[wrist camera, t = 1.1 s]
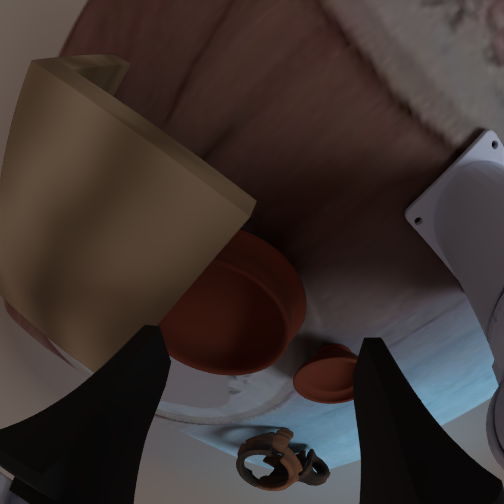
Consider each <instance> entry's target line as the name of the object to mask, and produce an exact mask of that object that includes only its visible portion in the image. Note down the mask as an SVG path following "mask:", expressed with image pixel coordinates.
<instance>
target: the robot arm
mask: <svg viewBox="0 0 504 504" xmlns="http://www.w3.org/2000/svg"><path fill="white" fill-rule="evenodd" d="M493 141H495V145H494V147H492V142H493ZM418 217H420V218H421V219H420V221H419V222H415V219H416V218H418ZM405 218H406V219H407V221H408V222H409V223H410V224H411V225H412V226H413V228H414V229H415V230H416V231H417V232H418V233H419V234H420V235H421V236H422V238H423V239H424V240H425V241H426V242H427V243H428V244H429V246H430V247H431V248H432V249H433V250H434V251H435V253H436V254H437V255H438V256H439V257H440V259H441V260H442V261H443V262H444V263H445V265H446V266H447V267H448V268H449V270H450V271H451V272H452V273H453V275H454V276H455V277H456V278H457V280H458V281H459V282H460V284H461V286H462V288H463V290H464V292H465V294H466V296H467V298H468V300H469V302H470V304H471V306H472V308H473V310H474V312H475V314H476V316H477V318H478V320H479V323H480V325H481V327H482V329H483V332H484V334H485V336H486V338H487V341H488V343H489V345H490V349H491V351H492V354H493V356H494V363H493V365H492V368H493V371H494V374H495V376H496V379H497V382H498V385H499V387H498V388H497V390H496V391H495V393H494V395H493V397H492V399H491V402H490V404H489V408H488V413H487V420H486V432H487V438H488V443H489V446H490V449H491V452H492V454H493V455H494V457H495V459H496V461H497V462H498V464H499V465H500V466H501V467H502V468H503V469H504V146H503V145H502V143H501V141H500V140H499V138H498V137H497V135H496V134H495V132H494V131H492V130H490V129H486V130H484V131H483V132H482V133H481V134H480V135H479V136H478V138H477V139H476V140H475V141H474V142H473V143H472V144H471V145H470V146H469V147H468V148H467V149H466V150H465V151H464V152H463V153H462V154H461V155H460V156H459V157H458V159H457V160H456V161H455V162H454V163H453V164H452V165H451V166H450V167H449V168H448V169H447V170H446V171H445V172H444V173H443V174H442V175H441V176H440V177H439V178H438V179H437V180H436V181H435V182H434V183H433V184H432V185H431V186H430V187H429V188H428V189H427V190H425V191H424V192H423V193H422V194H421V195H420V196H419V197H418V198H417V199H416V200H415V201H414V202H413V203H412V204H411V205H410V206H409V207H408V208H407V209H406V210H405ZM170 365H171V360H170V357H169V354H168V351H167V348H166V345H165V341H164V338H163V335H162V332H161V329H160V326H154V325H146V324H145V325H144V326H143V327H142V328H141V329H140V330H139V331H138V332H137V333H136V334H135V335H134V336H133V337H132V338H131V339H130V340H129V341H128V342H127V343H126V344H125V345H124V346H123V347H122V348H121V349H120V350H119V351H118V352H117V353H115V354H114V355H113V356H112V357H111V358H110V359H109V360H108V361H107V362H106V363H105V364H104V365H103V366H102V367H101V368H100V369H99V370H97V371H96V372H95V373H94V374H93V375H92V376H91V377H90V378H88V379H87V380H86V381H85V382H84V383H82V384H81V385H80V386H79V387H78V388H76V389H75V390H74V391H72V392H71V393H69V394H68V395H67V396H65V397H64V398H62V399H61V400H59V401H58V402H56V403H54V404H53V405H51V406H49V407H48V408H46V409H45V410H43V411H41V412H39V413H37V414H35V415H34V416H31V417H29V418H27V419H25V420H23V421H21V422H19V423H16V424H13V425H11V426H8V427H6V428H3V429H0V466H1V467H2V468H3V469H5V470H6V471H8V472H9V473H11V474H12V475H14V476H15V477H14V479H13V480H11V479H10V478H8V477H7V476H5V475H4V474H3V473H1V472H0V504H134V494H135V488H136V481H137V476H138V470H139V464H140V460H141V456H142V451H143V447H144V443H145V440H146V436H147V433H148V430H149V428H150V425H151V422H152V420H153V417H154V415H155V412H156V409H157V407H158V404H159V402H160V399H161V396H162V394H163V391H164V388H165V385H166V381H167V377H168V374H169V369H170ZM353 398H354V406H355V413H356V420H357V427H358V435H359V443H360V452H361V487H360V488H361V489H360V503H359V504H504V488H503V484H502V481H501V480H500V479H498V478H497V477H496V476H494V475H493V474H491V473H490V472H489V471H487V470H486V469H484V468H483V467H482V466H481V465H479V464H478V463H477V462H476V461H475V460H474V459H472V458H471V457H470V456H469V455H468V454H467V453H466V452H465V451H464V450H463V449H461V447H460V446H459V445H458V444H457V443H456V442H454V440H453V439H452V438H451V437H450V436H449V435H448V434H447V433H446V432H445V431H444V430H443V428H442V427H441V426H440V425H439V424H438V422H437V421H436V420H435V419H434V418H433V416H432V415H431V414H430V412H429V411H428V410H427V409H426V407H425V406H424V404H423V403H422V402H421V400H420V399H419V397H418V396H417V395H416V393H415V392H414V390H413V389H412V387H411V386H410V384H409V382H408V381H407V379H406V378H405V376H404V375H403V373H402V372H401V370H400V368H399V367H398V365H397V363H396V362H395V360H394V358H393V357H392V355H391V353H390V352H389V350H388V348H387V346H386V345H385V343H384V341H383V340H382V339H381V338H364V340H363V343H362V346H361V350H360V353H359V356H358V359H357V362H356V365H355V368H354V371H353Z"/></svg>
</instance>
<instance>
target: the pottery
mask: <svg viewBox="0 0 504 504" xmlns="http://www.w3.org/2000/svg"><path fill="white" fill-rule="evenodd" d="M305 313H306V296H305V291H304V287H303V284H302V282H301V280H300V278H299V276H298V274H297V272H296V271H295V269H294V268H293V266H292V265H291V264H290V262H289V261H288V260H287V259H286V258H285V257H284V256H283V255H282V254H281V253H280V252H279V251H278V250H277V249H275V248H274V247H273V246H272V245H270V244H269V243H267V242H266V241H264V240H263V239H261V238H259V237H257V236H255V235H253V234H251V233H249V232H247V231H244V230H241V229H239V230H238V231H237V233H236V234H235V235H234V236H233V237H232V238H231V239H230V241H229V242H228V243H227V244H226V245H225V246H224V247H223V249H222V250H221V251H220V252H219V253H218V254H217V256H216V257H215V258H214V259H213V260H212V261H211V263H210V264H209V265H208V266H207V267H206V268H205V270H204V271H203V272H202V273H201V274H200V275H199V277H198V278H197V279H196V280H195V281H194V282H193V284H192V285H191V286H190V287H189V288H188V289H187V291H186V292H185V293H184V294H183V295H182V297H181V298H180V299H179V300H178V301H177V302H176V304H175V305H174V306H173V307H172V308H171V310H170V311H169V312H168V313H167V314H166V316H165V317H164V318H163V319H162V320H161V322H160V323H159V324H158V325H157V326H160V329H161V332H162V335H163V338H164V341H165V345H166V348H167V351H168V354H169V355H170V356H171V357H173V358H174V359H176V360H178V361H179V362H181V363H183V364H185V365H188V366H190V367H192V368H195V369H198V370H201V371H204V372H208V373H213V374H219V375H245V374H251V373H255V372H258V371H261V370H263V369H265V368H267V367H269V366H271V365H272V364H274V363H275V362H276V361H278V360H279V359H280V358H281V357H282V355H283V354H284V353H285V351H286V349H287V347H288V345H289V342H290V341H291V340H292V339H293V338H294V337H295V335H296V334H297V333H298V331H299V330H300V328H301V326H302V324H303V321H304V318H305ZM357 359H358V356H357V355H355V354H354V353H352V352H351V351H350V349H349V348H348V347H346V346H344V345H340V344H331V345H327V346H324V347H322V348H321V349H320V350H319V351H318V352H317V354H316V355H315V356H313V357H312V358H310V359H309V360H308V361H307V362H305V363H304V364H303V365H302V366H301V367H300V368H299V369H298V371H297V372H296V374H295V376H294V379H293V385H294V388H295V390H296V391H297V392H298V393H299V394H300V395H301V396H303V397H304V398H306V399H309V400H311V401H314V402H319V403H327V404H335V403H343V402H348V401H351V400H354V398H353V371H354V368H355V365H356V362H357Z"/></svg>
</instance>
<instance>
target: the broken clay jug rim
mask: <svg viewBox="0 0 504 504" xmlns="http://www.w3.org/2000/svg"><path fill="white" fill-rule="evenodd" d="M292 437H293V432H292V431H290V430H288V429H287V428H281V429H280V430H278V431H277V432H276V433H274V432H270V433H267V434H262V435H259V436H255V437H252V438H250V439H248V440H246V444H242V445H241V447H240V449H239V452H238V459H237V462H236V468H237V470H238V472H239V474H240V476H241V477H242V478H243V479H244V480H245V481H246V482H248V483H249V484H251V485H252V486H254V487H258V488H260V489H263V490H268V491H272V490H273V491H279V490H284V489H286V488H288V487H289V486H290V485H292V484H293V483H294V482H297V481H300V482H303V483H306V484H308V485H315V486H317V485H321V484H323V483H325V482H326V480H327V478H328V477H329V475H330V472H329V468H328V466H327V465H326V464H325V462H324V461H323V460H322V459H320V458H319V457H317V456H316V454H315V452H314V450H313V449H310V450H309V452H308V454H307V457H306V451H305V450H303V451H302V452H300V453H298V454H296V455H295V454H294V452H293V451H292V450H291V449H290V448H289V447H287V445H288V444H289V441H290V439H291V438H292ZM273 450H275V451H278V452H279V453H280V454H282V455H278V454H275V453H273V452H272V451H273ZM252 455H266V457H265V458H264V459H263V462H265V463H267V464H269V465H270V466H272V467H274V470H273V472H272V473H271V474H270V475H269V476H262V477H261V478H260V479H257V478H256V477H255V476H254V475H253V474H252V471H251V470H249V469H247V468H246V467H245V466H244V460H245V459H246V458H247V457H249V456H252ZM312 467H313V468H314V469H315V470H316V471H317V473H316V472H315V471H314V470H313V468H312Z"/></svg>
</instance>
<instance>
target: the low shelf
mask: <svg viewBox="0 0 504 504" xmlns="http://www.w3.org/2000/svg"><path fill="white" fill-rule="evenodd" d="M130 66H131V64H130V63H128V62H126V61H125V60H123V59H121V58H120V57H118V56H116V55H115V54H107V55H80V56H66V57H55V58H46V59H37V60H32V61H31V63H30V66H29V68H28V71H27V74H26V77H25V80H24V83H23V86H22V89H21V92H20V95H19V98H18V102H17V105H16V109H15V112H14V116H13V120H12V123H11V128H10V132H9V136H8V141H7V146H6V150H5V155H4V161H3V166H2V172H1V178H0V295H1V296H2V297H3V298H4V299H5V300H6V301H7V302H8V303H9V304H10V305H11V306H12V307H13V308H14V309H16V310H17V311H18V312H19V313H20V314H21V315H22V316H23V317H24V318H25V319H27V320H28V321H29V322H30V323H31V324H32V325H33V326H35V327H36V328H37V329H38V330H39V331H40V332H42V333H43V334H44V335H45V336H46V337H48V338H49V339H50V340H51V341H53V342H54V343H55V344H56V345H58V346H59V347H60V348H61V349H63V350H64V351H65V352H67V353H68V354H69V355H71V356H72V357H73V358H75V359H76V360H77V361H79V362H80V363H81V364H83V365H84V366H86V367H87V368H88V369H90V370H91V371H93V372H94V373H95V372H96V371H97V370H99V369H100V368H101V367H102V366H103V365H104V364H105V363H106V362H107V361H108V360H109V359H110V358H111V357H112V356H113V355H114V354H115V353H117V352H118V351H119V350H120V349H121V348H122V347H123V346H124V345H125V344H126V343H127V342H128V341H129V340H130V339H131V338H132V337H133V336H134V335H135V334H136V333H137V332H138V331H139V330H140V329H141V328H142V327H143V326H144V325H145V324H146V325H154V326H157V325H158V324H159V323H160V322H161V320H162V319H163V318H164V317H165V316H166V314H167V313H168V312H169V311H170V310H171V308H172V307H173V306H174V305H175V304H176V302H177V301H178V300H179V299H180V298H181V297H182V295H183V294H184V293H185V292H186V291H187V289H188V288H189V287H190V286H191V285H192V284H193V282H194V281H195V280H196V279H197V278H198V277H199V275H200V274H201V273H202V272H203V271H204V270H205V268H206V267H207V266H208V265H209V264H210V263H211V261H212V260H213V259H214V258H215V257H216V256H217V254H218V253H219V252H220V251H221V250H222V249H223V247H224V246H225V245H226V244H227V243H228V242H229V241H230V239H231V238H232V237H233V236H234V235H235V234H236V233H237V231H238V230H239V229H240V228H241V227H242V226H243V225H244V223H245V222H246V221H247V220H248V219H249V218H250V216H251V214H252V211H253V209H254V207H255V204H256V202H257V201H256V200H255V199H254V198H252V197H251V196H250V195H248V194H247V193H246V192H244V191H243V190H242V189H240V188H239V187H238V186H237V185H235V184H234V183H233V182H231V181H230V180H229V179H227V178H226V177H225V176H223V175H222V174H221V173H219V172H218V171H217V170H215V169H214V168H213V167H211V166H210V165H209V164H207V163H206V162H205V161H203V160H202V159H201V158H199V157H198V156H196V155H195V154H194V153H192V152H191V151H190V150H188V149H187V148H185V147H184V146H183V145H181V144H180V143H179V142H177V141H176V140H174V139H173V138H172V137H170V136H169V135H167V134H166V133H165V132H163V131H162V130H160V129H159V128H158V127H156V126H155V125H153V124H152V123H151V122H149V121H148V120H146V119H145V118H143V117H142V116H141V115H139V114H138V113H136V112H135V111H133V110H132V109H130V108H129V107H128V106H126V105H125V104H123V103H122V102H120V101H119V100H117V99H116V98H114V95H115V93H116V91H117V89H118V87H119V86H120V84H121V82H122V80H123V78H124V76H125V75H126V73H127V71H128V69H129V68H130Z"/></svg>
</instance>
